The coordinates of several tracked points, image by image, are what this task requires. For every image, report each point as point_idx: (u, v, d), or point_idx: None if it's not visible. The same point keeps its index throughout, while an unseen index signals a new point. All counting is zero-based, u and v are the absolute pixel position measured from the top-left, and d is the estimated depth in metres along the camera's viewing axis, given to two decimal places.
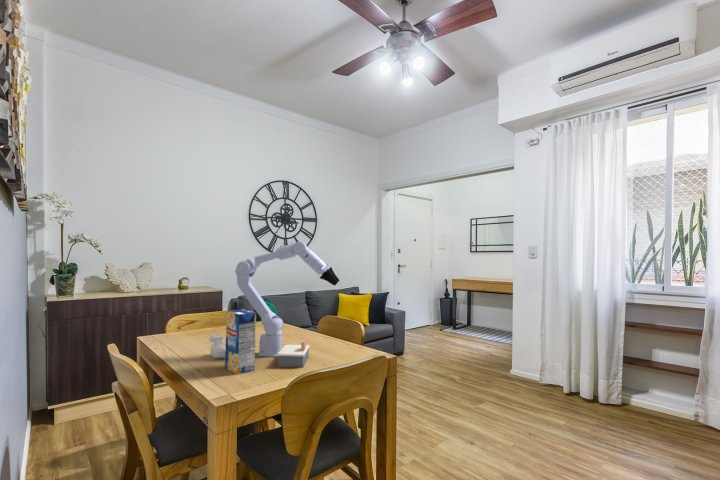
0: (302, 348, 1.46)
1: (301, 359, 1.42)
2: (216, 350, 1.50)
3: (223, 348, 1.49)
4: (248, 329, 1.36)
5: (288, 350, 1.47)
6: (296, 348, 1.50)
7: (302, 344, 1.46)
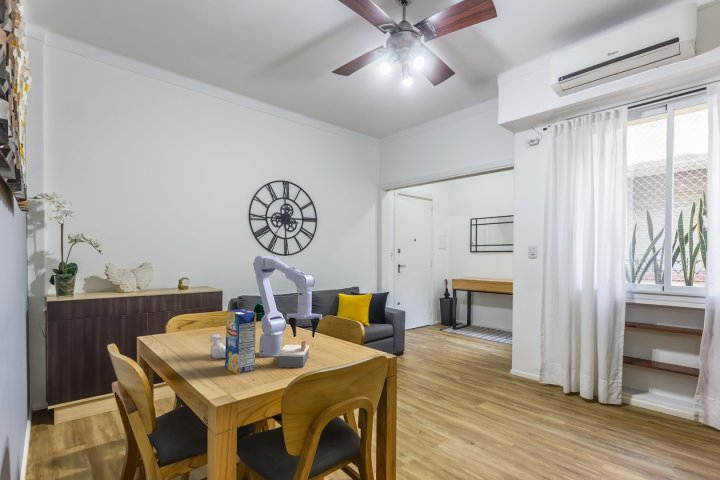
0: (302, 348, 1.46)
1: (301, 359, 1.42)
2: (216, 350, 1.50)
3: (223, 348, 1.49)
4: (248, 329, 1.36)
5: (288, 350, 1.47)
6: (296, 348, 1.50)
7: (302, 344, 1.46)
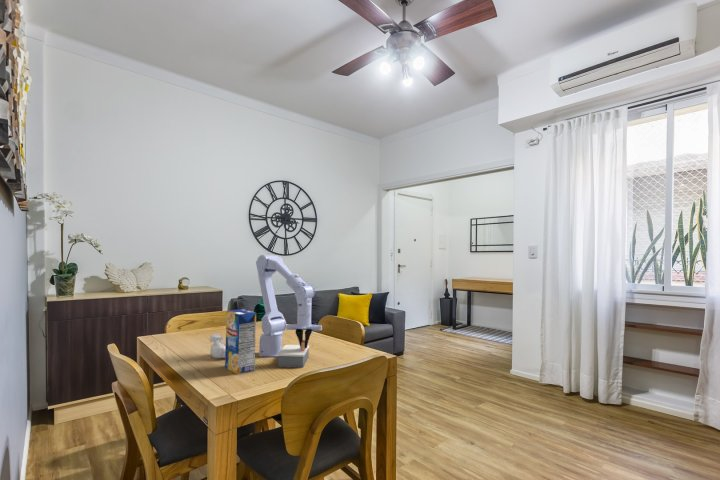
0: (302, 348, 1.46)
1: (301, 359, 1.42)
2: (216, 350, 1.50)
3: (223, 348, 1.49)
4: (248, 329, 1.36)
5: (288, 350, 1.47)
6: (296, 348, 1.50)
7: (302, 344, 1.46)
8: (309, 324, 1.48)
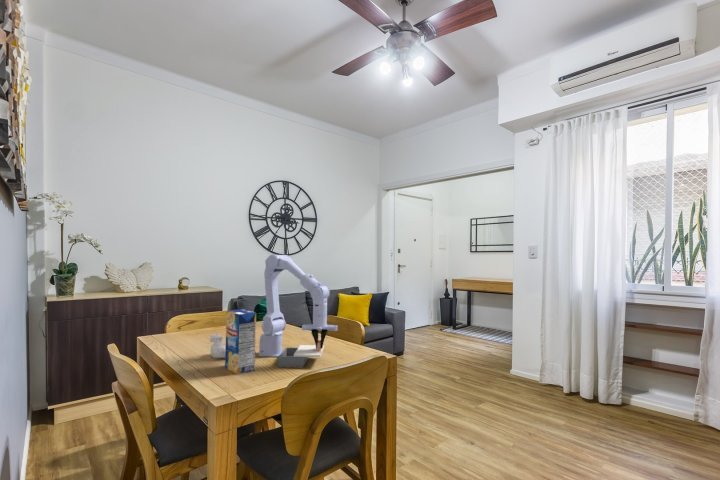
0: (318, 348, 1.46)
1: (301, 359, 1.42)
2: (216, 350, 1.50)
3: (223, 348, 1.49)
4: (248, 329, 1.36)
5: (304, 350, 1.47)
6: (311, 348, 1.50)
7: (318, 344, 1.46)
8: (325, 324, 1.48)
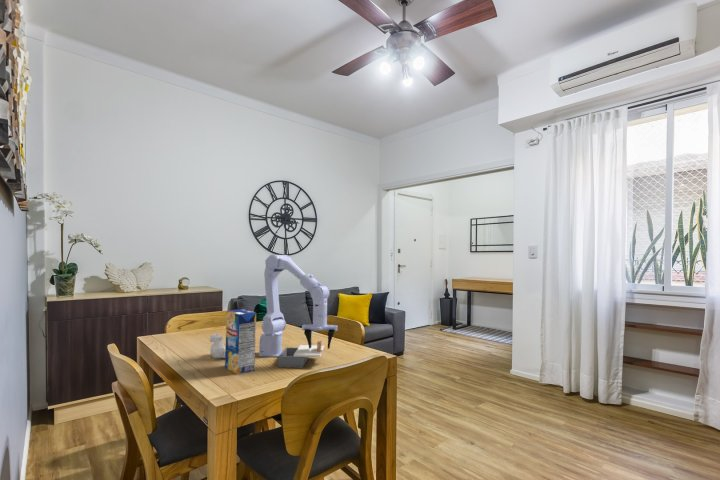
0: (318, 348, 1.46)
1: (301, 359, 1.42)
2: (216, 350, 1.50)
3: (223, 348, 1.49)
4: (248, 329, 1.36)
5: (304, 350, 1.47)
6: (311, 348, 1.50)
7: (318, 344, 1.46)
8: (325, 324, 1.48)
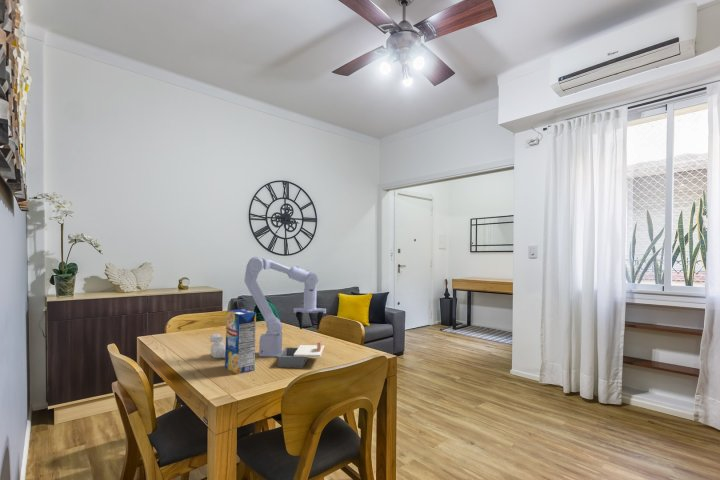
0: (318, 348, 1.46)
1: (301, 359, 1.42)
2: (216, 350, 1.50)
3: (223, 348, 1.49)
4: (248, 329, 1.36)
5: (304, 350, 1.47)
6: (311, 348, 1.50)
7: (318, 344, 1.46)
8: (314, 307, 1.63)
